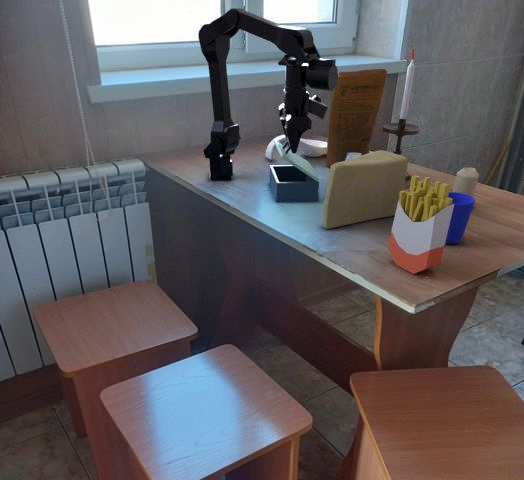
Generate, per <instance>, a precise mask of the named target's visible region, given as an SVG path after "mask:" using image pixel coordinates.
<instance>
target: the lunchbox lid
mask: <svg viewBox="0 0 524 480" xmlns="http://www.w3.org/2000/svg"><path fill="white" fill-rule="evenodd" d="M288 143H289V141H288V137H286V140H285V142H284V143H281V142H278V141H276V140H274V144H275V148H276V149H277V152H278V154H279V156H280V158H281V159H283V160H284V161H286V162H287V163H289V165H293V166H295V167H297V168H298V169H300V170H301V171H303V172H304V173H306V174H307V175H309V176H310V177H312V178H313V179H315V180H316V181H318V182H319V183H320V180H321V179H320V178H319V176H318V174H317V173H316V171H315V169H314V168H313V166H312V165H311V163H310V162H309V161H308V160H307V159H305V158H303V157H302V156H300V155H299V154H297V152H296V153H295V154H293V153H292V152H291V148H290V145H289V146H288Z"/></svg>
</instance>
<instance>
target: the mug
mask: <svg viewBox="0 0 524 480" xmlns="http://www.w3.org/2000/svg"><path fill="white" fill-rule="evenodd" d="M448 198H452V199H453V200H452V203H453V204H454V208H453V212H452V216H451V220H450V224H449V229H448V233H447V237H446V241H445V245H455V244H458V243H459V242H461V241H462V239H463V238H464V235H465V232H466V229H467V227H468V223H469V221H470V218H471V214H472V211H473V209H474V206H475V203H476V199H475V198H474V197H471V196H469V195H466V194H463V193H457V192H453V191H449V195H448Z"/></svg>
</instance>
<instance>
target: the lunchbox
mask: <svg viewBox="0 0 524 480" xmlns="http://www.w3.org/2000/svg"><path fill="white" fill-rule="evenodd" d="M268 181H269V182H268V183H269V186H270V189H271V192H272V194H273V197H274V199H275V203H296V202H297V203H301V202H303V203H305V202H318V199H319V187H320V181H319V182H318V181H316V180H315V179H313V178H312V177H310V176H309V175H307V174H306V173H304V172H303V171H301V170H300V169H298V168H297V167H295V166H293V165H292V164H280V165H279V164H278V165H277V164H276V165H275V164H274V165H269V180H268Z"/></svg>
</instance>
